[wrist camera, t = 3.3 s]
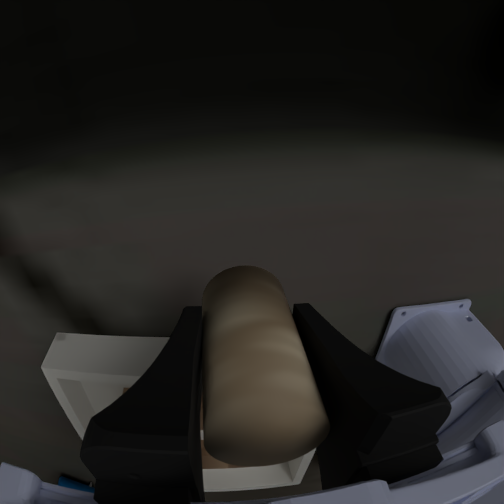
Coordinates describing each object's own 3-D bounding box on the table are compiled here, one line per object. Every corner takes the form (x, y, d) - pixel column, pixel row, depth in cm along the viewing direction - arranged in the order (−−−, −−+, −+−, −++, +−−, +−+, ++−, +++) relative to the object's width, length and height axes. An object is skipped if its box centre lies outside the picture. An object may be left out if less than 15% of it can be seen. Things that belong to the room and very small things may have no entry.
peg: (288, 264, 14) (343, 397, 7) (279, 331, 15) (316, 459, 9) (201, 266, 13) (198, 409, 7) (203, 333, 15) (207, 469, 9)
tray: (332, 330, 25) (348, 366, 21) (293, 457, 35) (299, 483, 31) (57, 332, 22) (40, 367, 18) (118, 460, 32) (116, 486, 28)
